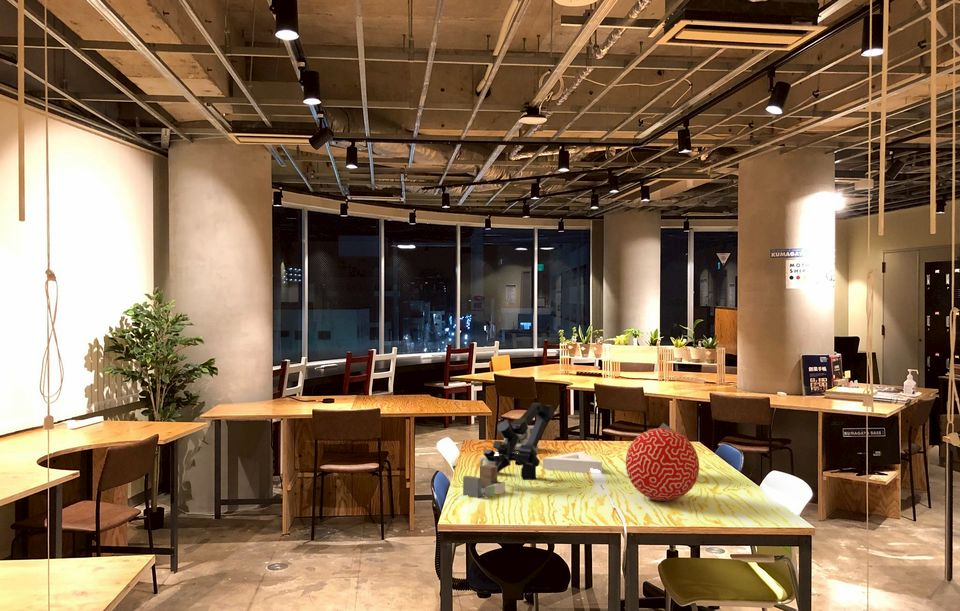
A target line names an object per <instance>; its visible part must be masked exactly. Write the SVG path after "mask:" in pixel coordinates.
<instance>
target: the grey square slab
mask: <svg viewBox="0 0 960 611" xmlns="http://www.w3.org/2000/svg"><path fill="white" fill-rule="evenodd" d="M462 485H463V486H462V487H463V488H462V496H465V495H468V496H467V497H471V496H473V497H472V498H476V497H479V498H481V497H480V496H481V478H480V477H477V476H472V475H464V476H463V477H462Z"/></svg>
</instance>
